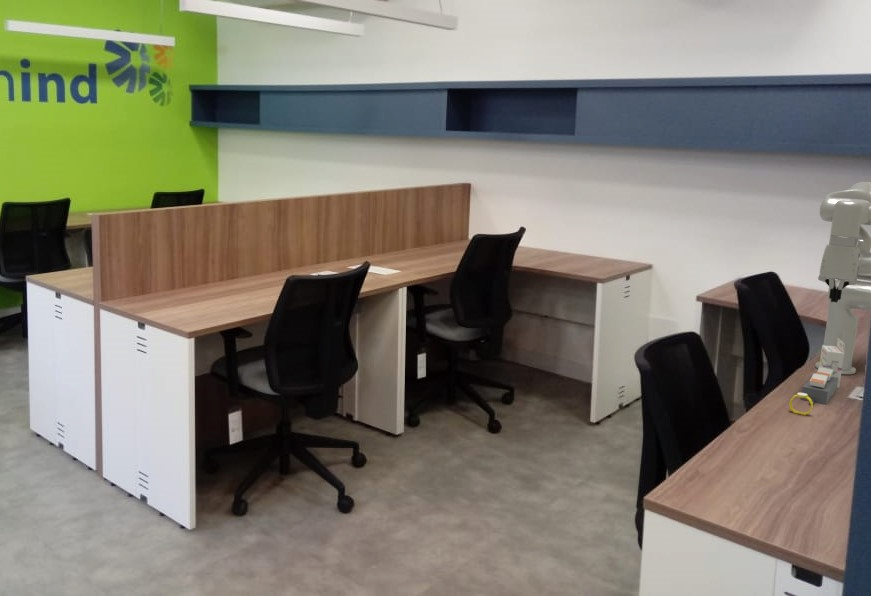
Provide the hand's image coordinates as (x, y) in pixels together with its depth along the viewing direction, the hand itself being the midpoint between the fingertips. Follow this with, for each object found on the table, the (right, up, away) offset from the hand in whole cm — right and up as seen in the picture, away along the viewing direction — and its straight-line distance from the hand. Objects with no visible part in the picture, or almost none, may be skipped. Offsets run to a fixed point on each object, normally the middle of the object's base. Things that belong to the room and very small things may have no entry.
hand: (834, 301), depth 241 cm
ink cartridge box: (+6, -27, +16) cm, 32 cm away
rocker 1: (0, -23, +6) cm, 24 cm away
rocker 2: (-5, -24, -1) cm, 25 cm away
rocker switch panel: (-4, -29, +2) cm, 30 cm away
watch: (-17, -32, -14) cm, 39 cm away
